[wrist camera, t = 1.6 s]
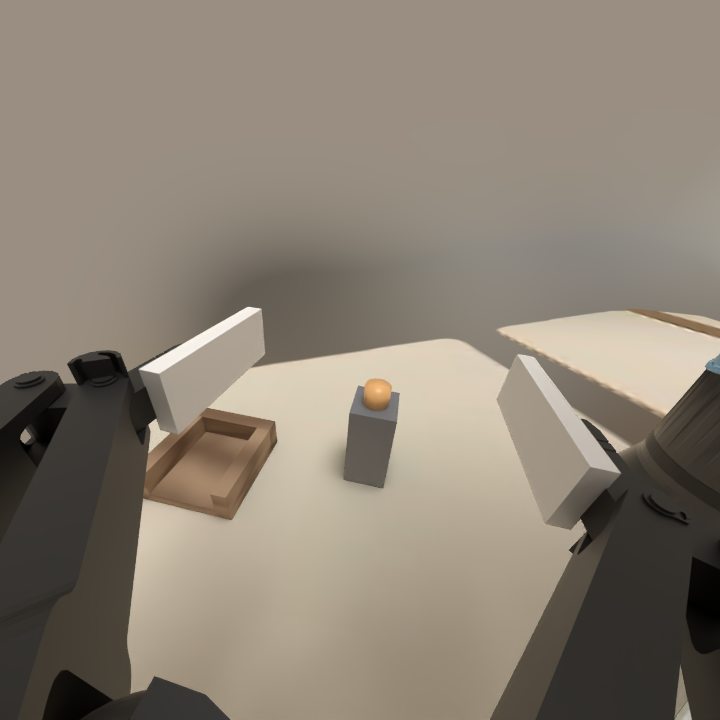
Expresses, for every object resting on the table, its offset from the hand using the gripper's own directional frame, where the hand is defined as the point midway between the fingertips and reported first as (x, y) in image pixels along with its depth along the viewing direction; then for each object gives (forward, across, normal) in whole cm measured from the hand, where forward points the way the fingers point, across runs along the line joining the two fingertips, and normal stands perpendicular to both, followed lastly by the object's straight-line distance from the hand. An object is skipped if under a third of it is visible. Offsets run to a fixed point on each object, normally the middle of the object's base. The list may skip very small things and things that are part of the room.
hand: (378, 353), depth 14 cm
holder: (+5, -16, -21) cm, 27 cm away
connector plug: (+9, 0, -20) cm, 23 cm away
